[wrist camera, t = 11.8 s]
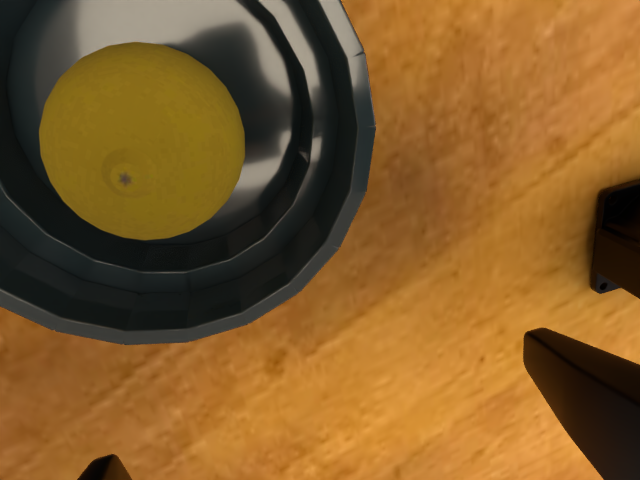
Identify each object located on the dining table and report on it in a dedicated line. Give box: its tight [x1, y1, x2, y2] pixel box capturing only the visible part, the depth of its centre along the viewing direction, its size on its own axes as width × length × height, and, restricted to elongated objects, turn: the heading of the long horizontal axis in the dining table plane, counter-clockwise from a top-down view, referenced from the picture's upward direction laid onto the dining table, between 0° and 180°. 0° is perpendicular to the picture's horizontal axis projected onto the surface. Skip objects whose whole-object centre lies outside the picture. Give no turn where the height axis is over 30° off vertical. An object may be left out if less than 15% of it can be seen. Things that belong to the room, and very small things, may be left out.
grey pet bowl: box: [0, 0, 376, 345], centre depth 15 cm, size 14×14×6 cm
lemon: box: [39, 42, 245, 240], centre depth 13 cm, size 6×6×8 cm
